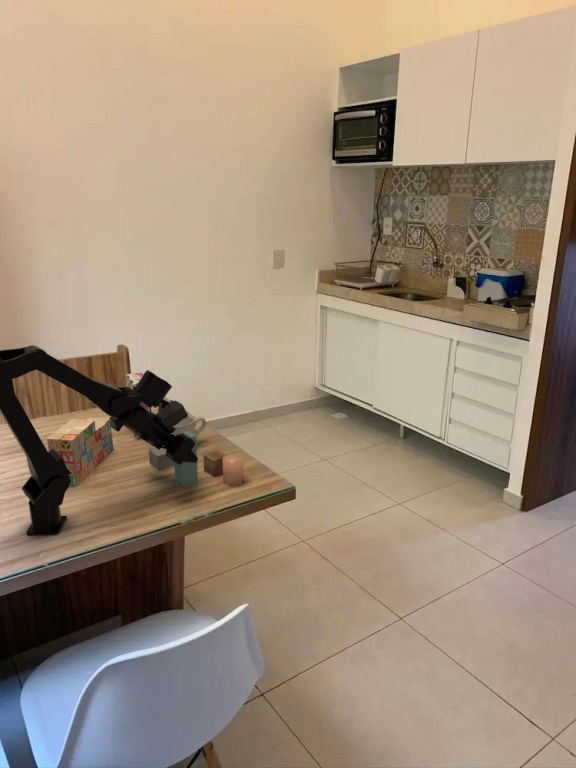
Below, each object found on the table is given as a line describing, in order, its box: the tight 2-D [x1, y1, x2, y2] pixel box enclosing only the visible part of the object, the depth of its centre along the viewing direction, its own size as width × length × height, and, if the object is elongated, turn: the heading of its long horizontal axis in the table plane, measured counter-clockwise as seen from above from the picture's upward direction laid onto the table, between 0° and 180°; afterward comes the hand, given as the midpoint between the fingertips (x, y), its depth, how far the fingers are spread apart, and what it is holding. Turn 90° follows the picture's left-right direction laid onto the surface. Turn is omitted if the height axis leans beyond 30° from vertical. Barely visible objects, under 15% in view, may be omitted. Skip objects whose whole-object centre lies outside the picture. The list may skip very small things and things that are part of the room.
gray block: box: [148, 447, 174, 471], centre depth 149 cm, size 5×5×4 cm
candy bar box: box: [125, 372, 152, 440], centre depth 167 cm, size 11×5×16 cm, turn 25°
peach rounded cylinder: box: [222, 453, 245, 486], centre depth 140 cm, size 5×5×6 cm
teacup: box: [172, 414, 207, 438], centre depth 159 cm, size 14×11×8 cm
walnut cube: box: [202, 449, 227, 478], centre depth 145 cm, size 4×4×4 cm
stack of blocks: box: [46, 417, 114, 487], centre depth 146 cm, size 21×6×12 cm, turn 173°
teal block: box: [173, 431, 199, 487], centre depth 139 cm, size 4×4×12 cm
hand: (188, 455), depth 139 cm, fingers open, 7 cm apart
